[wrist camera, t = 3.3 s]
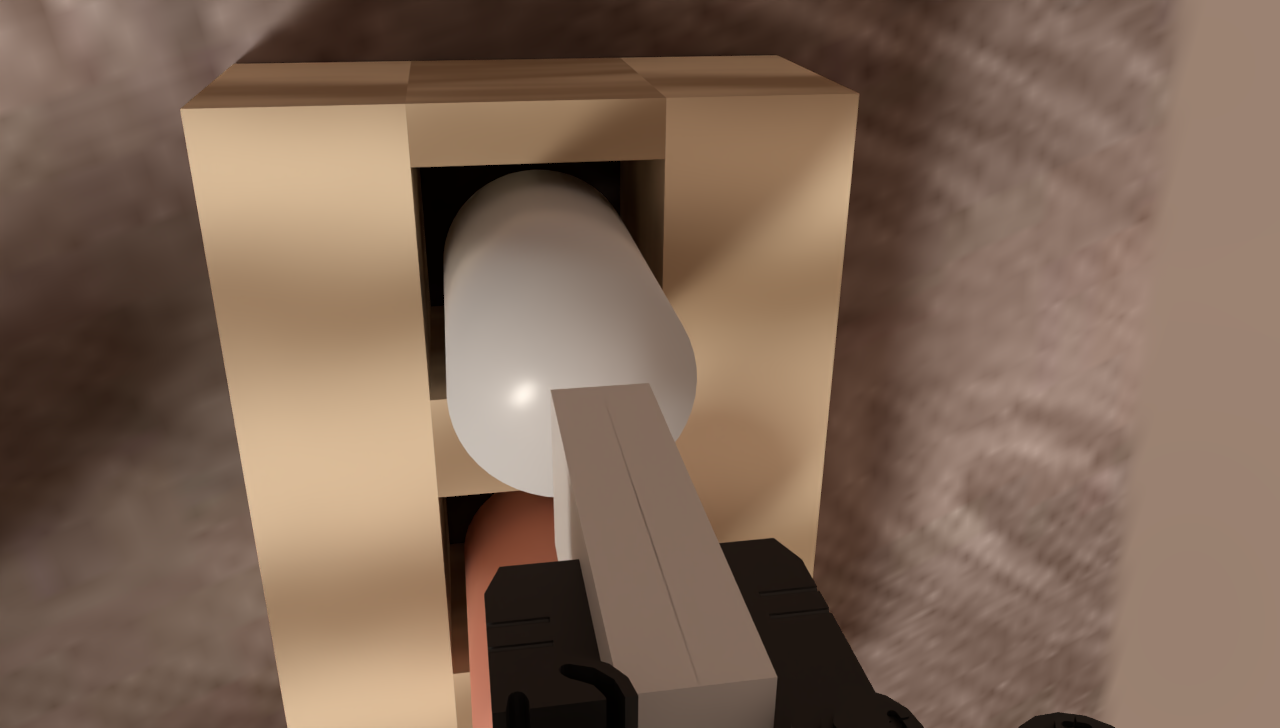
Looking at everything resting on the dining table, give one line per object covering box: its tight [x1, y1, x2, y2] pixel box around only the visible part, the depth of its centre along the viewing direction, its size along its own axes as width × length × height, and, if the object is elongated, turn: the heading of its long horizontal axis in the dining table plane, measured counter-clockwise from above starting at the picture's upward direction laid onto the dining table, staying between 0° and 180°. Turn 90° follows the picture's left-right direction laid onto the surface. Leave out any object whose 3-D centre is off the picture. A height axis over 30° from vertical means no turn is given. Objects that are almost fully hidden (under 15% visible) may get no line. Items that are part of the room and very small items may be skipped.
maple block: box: [180, 55, 859, 728], centre depth 29 cm, size 24×14×6 cm, turn 179°
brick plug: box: [464, 490, 558, 728], centre depth 24 cm, size 4×4×7 cm
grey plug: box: [443, 170, 697, 497], centre depth 21 cm, size 4×4×7 cm
